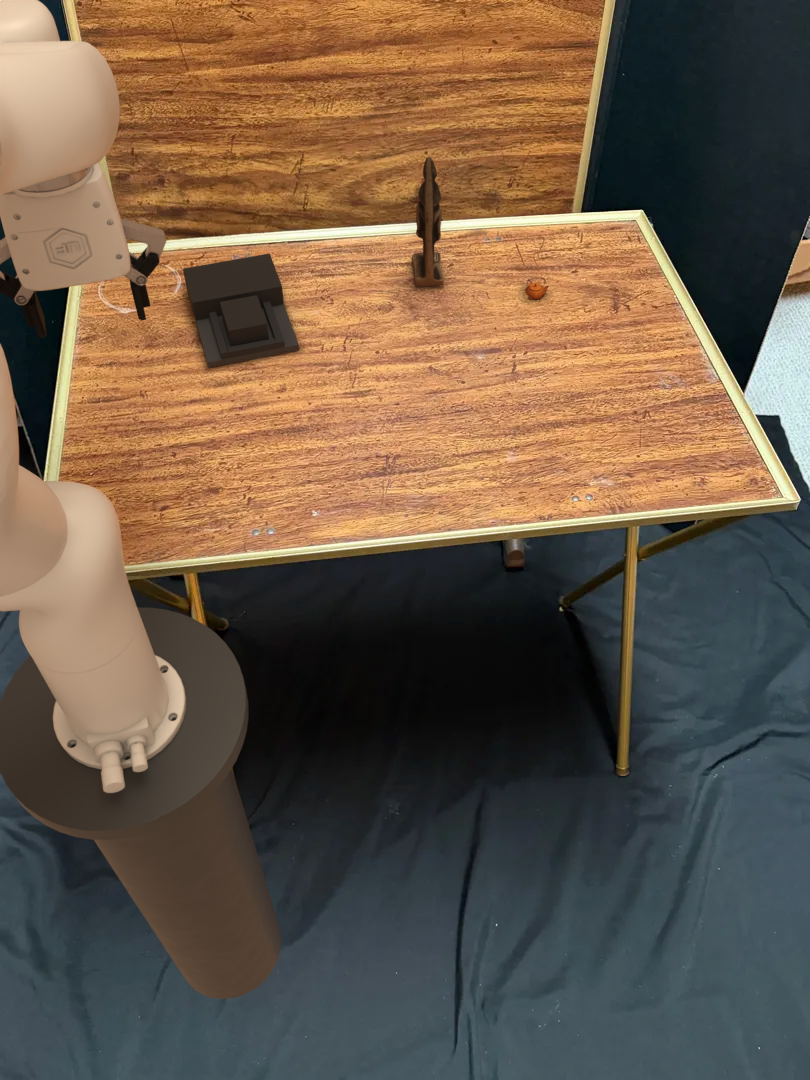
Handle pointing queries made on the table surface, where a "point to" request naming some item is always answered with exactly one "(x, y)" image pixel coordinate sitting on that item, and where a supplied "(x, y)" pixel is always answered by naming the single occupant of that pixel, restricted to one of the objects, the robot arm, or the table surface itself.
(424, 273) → the statue
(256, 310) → the loose pad
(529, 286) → the small kettle
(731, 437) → the table surface
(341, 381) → the table surface
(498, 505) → the table surface
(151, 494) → the table surface
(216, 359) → the pad base
